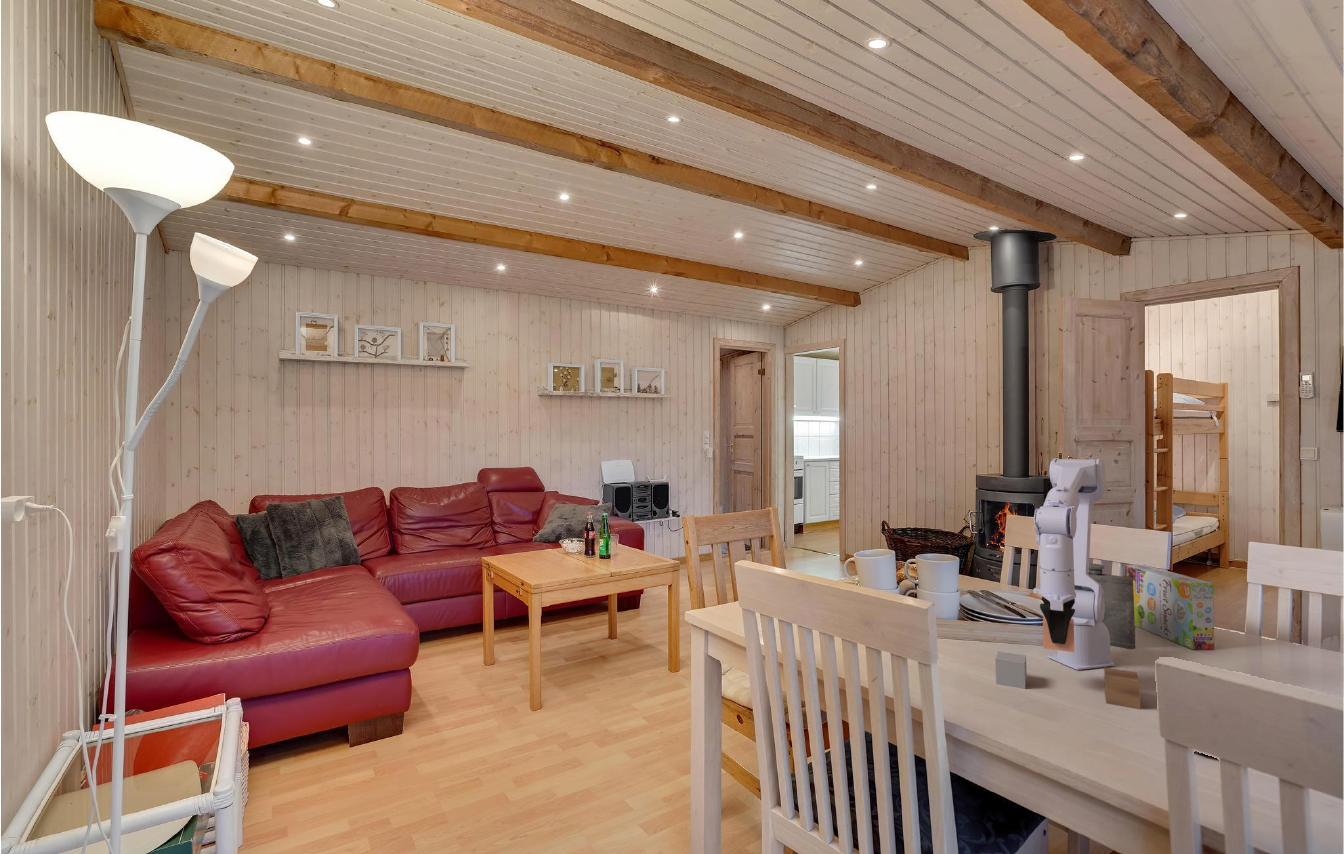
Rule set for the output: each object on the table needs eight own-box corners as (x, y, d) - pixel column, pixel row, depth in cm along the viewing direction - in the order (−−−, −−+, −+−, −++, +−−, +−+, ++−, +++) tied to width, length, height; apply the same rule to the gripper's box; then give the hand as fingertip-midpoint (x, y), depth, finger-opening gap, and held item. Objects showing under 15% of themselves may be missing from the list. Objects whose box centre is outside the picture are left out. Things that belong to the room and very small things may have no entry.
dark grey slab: (1131, 650, 139) (1128, 570, 139) (1061, 634, 150) (1059, 560, 151) (1137, 647, 141) (1134, 567, 141) (1067, 631, 152) (1065, 558, 153)
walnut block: (1105, 693, 117) (1104, 667, 117) (1138, 699, 114) (1137, 672, 114) (1106, 703, 113) (1105, 676, 113) (1140, 709, 110) (1139, 681, 110)
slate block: (998, 675, 126) (997, 651, 127) (1026, 680, 124) (1026, 655, 124) (996, 684, 122) (995, 658, 122) (1025, 689, 120) (1024, 663, 120)
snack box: (1217, 650, 138) (1215, 582, 138) (1192, 650, 138) (1190, 583, 138) (1146, 621, 159) (1144, 563, 159) (1124, 622, 159) (1122, 563, 160)
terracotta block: (1044, 640, 123) (1043, 615, 123) (1074, 644, 121) (1073, 618, 121) (1043, 647, 119) (1042, 621, 119) (1074, 652, 116) (1073, 625, 117)
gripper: (1034, 559, 128) (1036, 625, 128) (1030, 573, 116) (1032, 646, 116) (1075, 563, 125) (1077, 630, 124) (1075, 577, 112) (1077, 652, 112)
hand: (1058, 638), depth 120 cm, fingers closed on terracotta block, 5 cm apart
